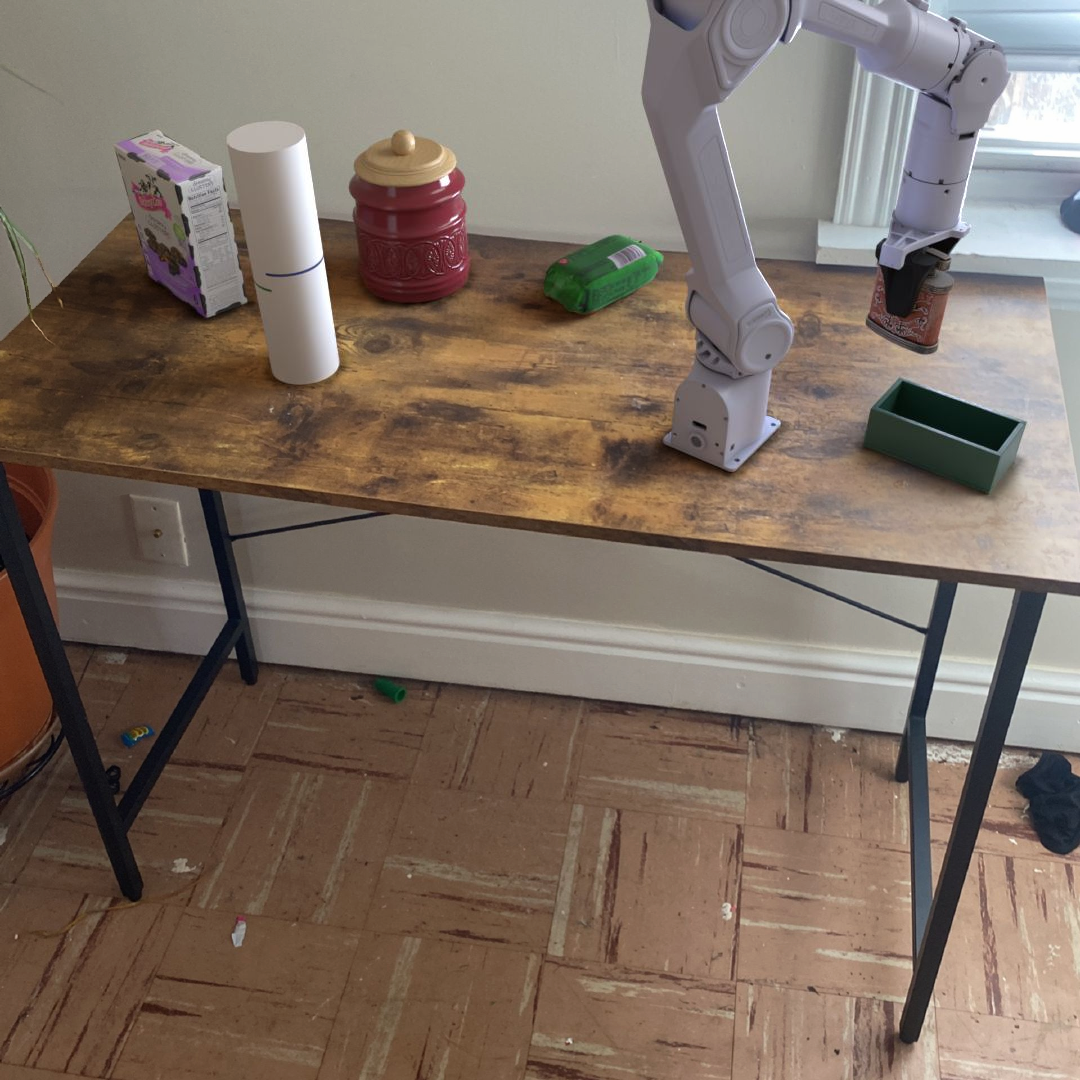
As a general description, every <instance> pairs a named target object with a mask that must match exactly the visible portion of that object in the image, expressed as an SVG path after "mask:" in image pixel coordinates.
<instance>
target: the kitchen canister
mask: <svg viewBox="0 0 1080 1080" xmlns="http://www.w3.org/2000/svg"><path fill="white" fill-rule="evenodd" d="M456 165H457V157H456V154H455V153H454V152H453V151H452V150H451V149H450V148H448V147H446V146H443V145H441V144H440V143H439V142H437V141H435V140H433V139H430V138H427V137H422V136H414V135H413V133H411V131H409V130H406V129H399V130H397V131H395V132H394V133H393V135H392V136H391V137H389V138H386V139H382V140H379V141H377V142H375V143H373V144H372V145H370V146H369V147H368V148H367V149H366V150H364V151H363V152H361V153H360V154H359V155H358V156H356V158H355V159H354V162H353V170H354V173H355V174H354V175H353V176H352V177H351V178H350V180H349V182H348V192H349V194H350V196H351V197H352V199H354V207H353V209H352V213H351V214H352V215H351V216H352V217H351V218H352V221H353V222H354V225H355V226H354V227H355V236H356V242H357V250H358V257H359V258H358V268H359V275H360V277H361V279H362V282H363V286H364V287H365V288H366V289H367V291H369V292H370V293H371V294H373V295H374V296H376V297H378V298H380V299H383V300H386V301H391V302H396V303H408V304H409V303H410V304H411V303H424V302H425V303H426V302H430V301H435V300H436V301H437V300H438V299H443V298H445V297H447V296H450V295H452V294H454V293H455V292H457V291H458V290H460V289H461V288H462V287H463V286H464V285H465V284H466V283H467V281H468V279H469V275H470V269H471V254H470V250H469V246H468V244H469V243H468V228H467V227H468V226H467V213H468V212H467V211H468V207H467V203H466V201H465V200H464V198H463V197H462V196H463V195H462V191H463V190H464V188H465V187H466V177H465V175H464V173H463V172H462V170H461V169H460V168H458V167H457V166H456Z"/></svg>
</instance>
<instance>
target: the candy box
mask: <svg viewBox="0 0 1080 1080" xmlns="http://www.w3.org/2000/svg"><path fill="white" fill-rule="evenodd" d="M113 148H114V151H115V155H116V158H117V159H116V160H117V162H118V166H119V170H120V174H121V177H122V181H123V184H124V189H125V192H126V196H127V199H128V203H129V206H130V211H131V213H132V218H133V222H134V226H135V229H136V233H137V236H138V241H139V245H140V248H141V252H142V255H143V259H144V263H145V268H146V271H147V275H148V276H149V277H150V278H151V279H152V280H153V281H155V282H156V283H158V284H160V285H161V286H162V287H163V288H164V289H166V290H167V291H169V292H170V293H171V294H172V295H174V296H175V297H177V298H178V299H179V300H181V301H182V302H183V303H185V304H186V305H188V306H189V307H190V308H192V309H193V310H194V311H196V312H197V313H198V314H200V315H201V316H203V318H205V319H209V318H211V317H214V316H217V315H219V314H222V313H225V312H227V311H229V310H232V309H235V308H237V307H240V306H242V305H245V304H247V303H248V297H247V292H246V286H245V282H244V276H243V271H242V266H241V261H240V256H239V252H238V251H239V250H238V245H237V241H236V235H235V230H234V224H233V219H232V214H231V209H230V204H229V203H230V202H229V199H228V193H227V189H226V184H225V178H224V174H223V169H222V166H221V165H219V164H215V163H213V162H212V161H210V160H209V159H207V158H205V157H203V156H201V155H200V154H198V153H196V152H195V151H193V150H192V149H190V148H188V147H186V146H185V145H183V144H181V143H180V142H178V141H176V140H175V139H173V138H171V137H169V136H168V135H167V134H164V133H163V132H162V131H161V130H159V129H156V130H153V131H150V132H147V133H143V134H139V135H137V136H135V137H132V138H129V139H125V140H122V141H118V142H116V143H114V144H113Z"/></svg>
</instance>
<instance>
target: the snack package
mask: <svg viewBox="0 0 1080 1080" xmlns="http://www.w3.org/2000/svg"><path fill="white" fill-rule="evenodd" d="M664 258H665V257H664V255H663V254H662V253H661V252H659V251H657V250H655V249H653V248H652V247H650V246H648V245H645V244H643V243H642V240H639V241H637V240H636V239H633V238H631V237H628V236H625V235H623V234H612V235H609V236H606V237H604V238H602V239H601V238H600V239H599V240H597V241H595V242H593V243H590V244H588V245H586V246H584V247H581V248H578V249H577V250H575V251H573V252H571V253H568V254H567V255H564V256H563V257H560V258H559V259H557V260H556V261H554V262H552V263H551V265H550V266H549V267H548V269H547V270H546V273H545V276H544V277H545V278H544V280H543V289H542V290H543V293H544V295H545V296H546V297H548V298H549V299H553V300H555V302H558V303H559V304H561V305H563V306H564V307H565V310H566V311H568V312H571V313H572V312H574V313H576V314H578V315H583V316H585V315H591V314H594V313H596V312H598V311H600V310H601V309H603V308H605V307H607V306H608V305H610V304H613V303H614V302H616V301H618V300H620V299H623V298H624V297H626V296H629V295H631V294H632V293H634V292H636V291H638V290H640V289H642V288H643V287H645V286H646V285H647V284H649V283H650V282H652V281H653V279H655V277H656V275H657V273H658V271H659V269H660V268H661V266H662V264H663V262H664Z"/></svg>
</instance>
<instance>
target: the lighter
mask: <svg viewBox="0 0 1080 1080" xmlns="http://www.w3.org/2000/svg"><path fill="white" fill-rule="evenodd" d="M921 249H923V253H924V254H928V255H931V256H934V257H938V258H940V260H939V261H938V262H937V263H936V264H935V265H934V267H933V268H932V269H931V271H930V272H929V274H928V275H927V277H926V279H925V281H924V283H923V285H922V287H921V289H920V292H919V294H918V297H917V300H916V302H915V305H914V307H913V309H912V311H911V313H910V314H909V316H908V317H907V318H905V319H904V318H901V317H898V316H895V315H892V314H889V313H887V312H886V303H885V287H884V279H883V274H882V271H881V267H880V265H879V262H878V260H877V259H876V265H877V271H876V275H875V280H874V286H873V293H872V297H871V303H870V306H869V312H868V313H867V314H866V318H865V327H867V328H868V329H869V330H870V331H871V332H873V333H875V334H876V335H878V336H879V337H881V338H882V339H884V340H886V341H888V342H890V343H892V344H894V345H896V346H898V347H900V348H902V349H905V350H907V351H910V352H913V353H916V354H918V355H923V356H924V355H925V356H927V355H933V354H935V353H936V352H937V351H938V349H939V344H940V338H939V336H940V332H941V328H942V324H943V320H944V316H945V312H946V308H947V304H948V299H949V296H950V292H951V291H952V290H953V287H954V283H955V278H954V277H953V276H952V275H950V274H948V273H947V271H949V270H950V267H951V263H952V259H953V258H952V257H951V256H950V254H949V255H947V254H945V253H942V252H940V251H938V250H936V249H934V248H929V247H928V245H927V246H925V247H922V248H921Z"/></svg>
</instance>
